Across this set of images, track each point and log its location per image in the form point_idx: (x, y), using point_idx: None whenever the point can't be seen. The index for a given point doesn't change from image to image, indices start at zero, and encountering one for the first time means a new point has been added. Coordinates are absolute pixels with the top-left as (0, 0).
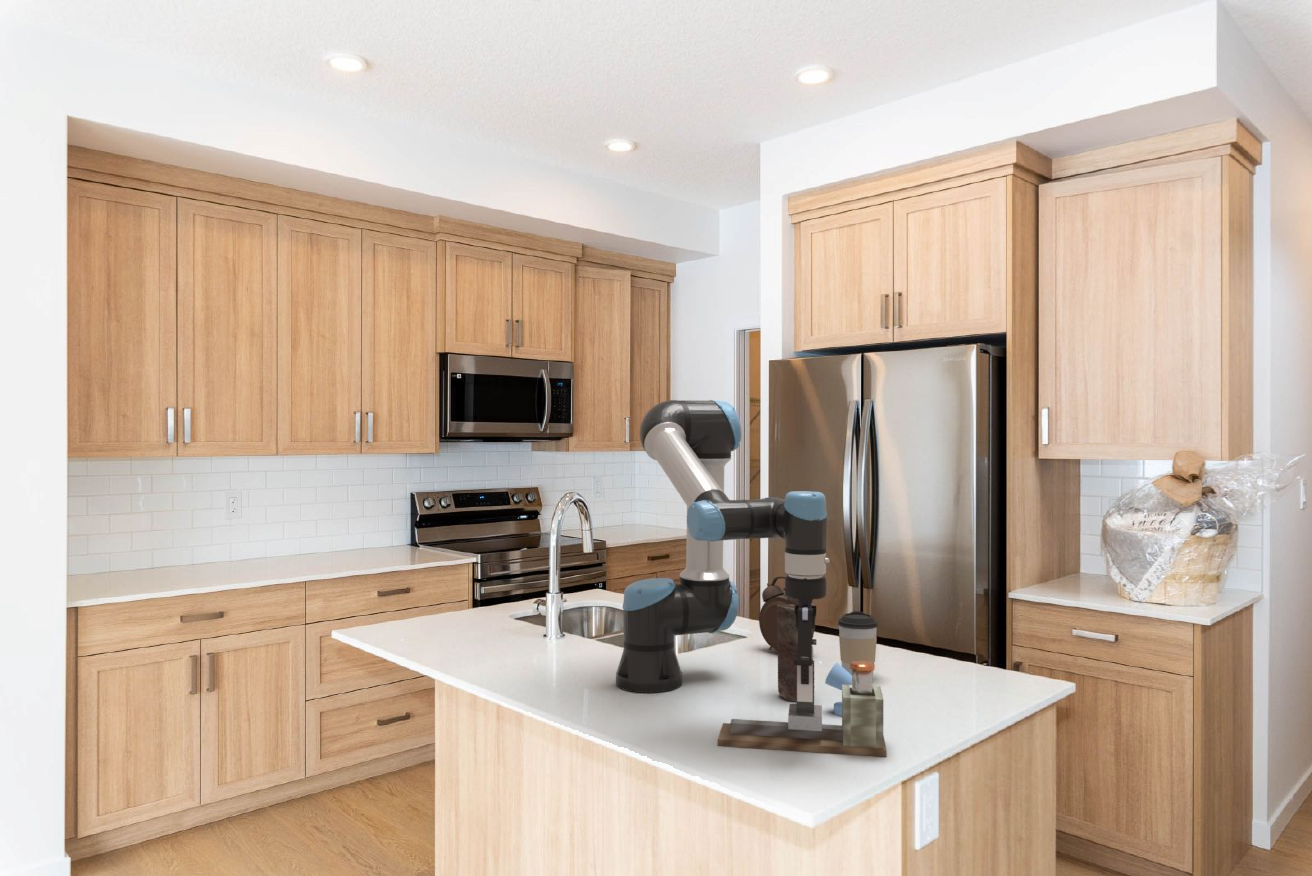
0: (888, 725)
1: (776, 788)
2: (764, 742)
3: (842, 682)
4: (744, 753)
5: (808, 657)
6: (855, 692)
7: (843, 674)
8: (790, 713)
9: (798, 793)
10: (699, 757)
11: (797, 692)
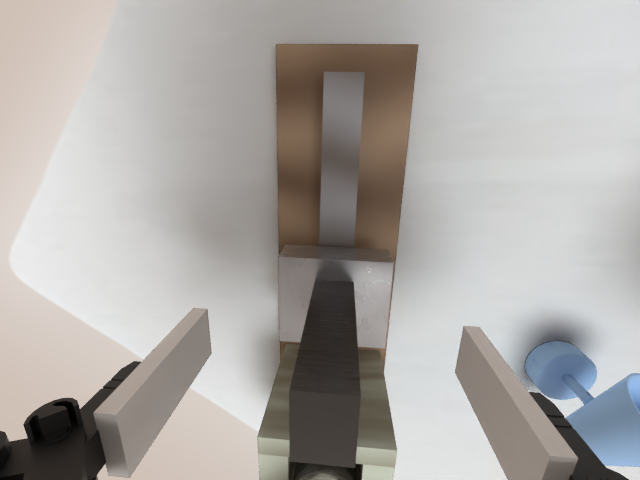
0: (463, 430)
1: (77, 206)
2: (278, 178)
3: (594, 425)
4: (242, 129)
5: (500, 436)
6: (303, 473)
7: (624, 451)
8: (296, 263)
9: (71, 246)
10: (188, 7)
11: (177, 326)
